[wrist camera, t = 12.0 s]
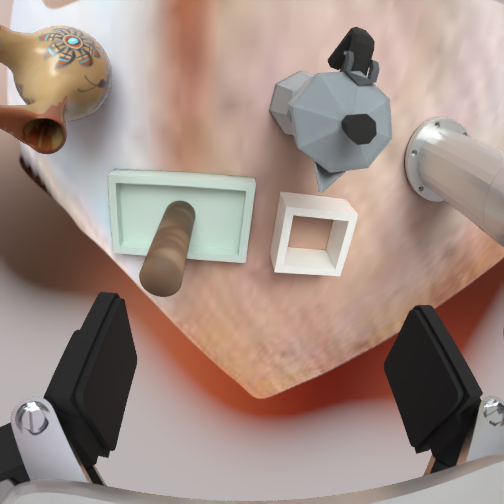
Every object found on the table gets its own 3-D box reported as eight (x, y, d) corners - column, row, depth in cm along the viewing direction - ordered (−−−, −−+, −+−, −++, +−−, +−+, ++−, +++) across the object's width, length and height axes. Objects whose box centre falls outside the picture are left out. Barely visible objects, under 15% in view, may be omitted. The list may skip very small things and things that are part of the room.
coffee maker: (324, 162, 39) (384, 224, 23) (257, 146, 37) (277, 200, 22) (356, 53, 32) (441, 46, 16) (286, 31, 30) (332, -5, 15)
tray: (254, 177, 39) (255, 183, 37) (244, 253, 45) (245, 263, 43) (114, 169, 37) (107, 175, 35) (118, 244, 43) (113, 253, 41)
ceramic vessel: (152, 94, 33) (35, 131, 12) (98, 140, 35) (-33, 232, 14) (82, 5, 26) (-60, -30, 4) (34, 54, 28) (-116, 75, 6)
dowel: (196, 201, 40) (181, 263, 28) (194, 229, 42) (182, 298, 30) (164, 199, 39) (137, 259, 27) (165, 227, 41) (141, 294, 29)
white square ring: (345, 199, 42) (358, 214, 37) (330, 256, 46) (340, 276, 42) (280, 191, 41) (286, 206, 36) (270, 252, 45) (274, 272, 41)
